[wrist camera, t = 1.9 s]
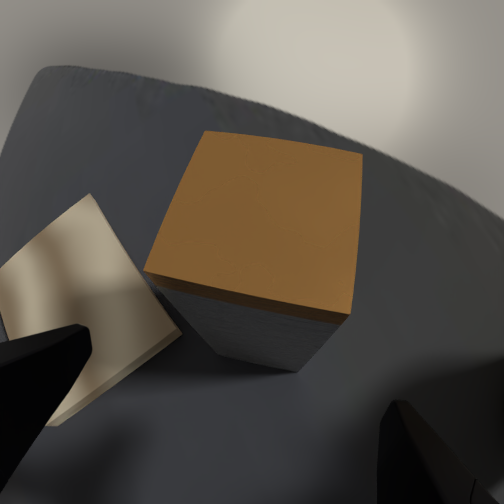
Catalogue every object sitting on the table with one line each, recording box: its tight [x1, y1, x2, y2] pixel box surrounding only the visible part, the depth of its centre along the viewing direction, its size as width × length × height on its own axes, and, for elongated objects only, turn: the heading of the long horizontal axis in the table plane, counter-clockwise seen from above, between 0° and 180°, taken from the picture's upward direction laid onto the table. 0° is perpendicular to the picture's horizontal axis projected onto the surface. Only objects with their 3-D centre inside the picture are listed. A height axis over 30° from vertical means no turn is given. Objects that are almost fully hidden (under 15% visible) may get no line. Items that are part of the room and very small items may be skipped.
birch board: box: [0, 194, 182, 426], centre depth 20 cm, size 12×14×2 cm
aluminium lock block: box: [143, 131, 362, 372], centre depth 14 cm, size 5×5×13 cm
